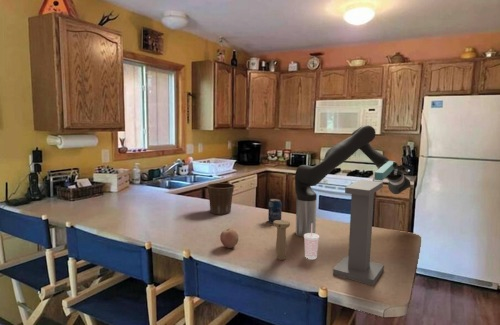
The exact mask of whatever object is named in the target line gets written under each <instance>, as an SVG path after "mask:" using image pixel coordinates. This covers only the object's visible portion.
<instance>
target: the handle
mask: <svg viewBox="0 0 500 325" xmlns="http://www.w3.org/2000/svg"><path fill="white" fill-rule="evenodd" d="M272 224H273V226H274V227H276V230H277V231H276V242H275V252H276V260H278V261H285V259H286V253H287V228H289V227H290V226H291V222H290V221H289V220H285V219H284V220H282V219H281V220H275V221H274V222H273V223H272Z"/></svg>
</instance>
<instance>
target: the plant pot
mask: <svg viewBox="0 0 500 325" xmlns="http://www.w3.org/2000/svg"><path fill="white" fill-rule="evenodd" d="M206 188H207V192H208V198H209V199H208V200H209V211H210V213H211V214H213V215H218V216H219V215H221V216H222V215H226V214H231V211H232V204H233V193H234V189H235V184H232V183H226V182H213V183H208V184H207V185H206Z"/></svg>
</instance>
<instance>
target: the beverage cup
mask: <svg viewBox="0 0 500 325" xmlns="http://www.w3.org/2000/svg"><path fill="white" fill-rule="evenodd" d="M312 225H313V223H311V233H306V234H304V237H303V238H304V240H303V241H304V257H306V258H305V259H307V258H308V259H307V260H316V259H317V257H318V248H319V239H320V235H319V234H318V233H316V232H315V233H312Z"/></svg>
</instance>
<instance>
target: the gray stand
mask: <svg viewBox="0 0 500 325" xmlns="http://www.w3.org/2000/svg"><path fill="white" fill-rule="evenodd" d="M383 185H384V182H383V181H379V180H367V179H360V180H358V181H355V182H354V183H352V184H349V185H347V186H345V187H344V194H349V195H351V196H350V197H351V198H350V220H349V237H348V238H349V239H348V255H346V256H344V257H343V259H341V261H340V262H339V263H338V264H336V265H335V267H333V268H332V274H333V275H334V276H338V277H341V278H345V279H348V280H353V281H356V282H357V283H358V282H360V283H362V284H364V285H365V284H366V285H369V286H374V285H375V284H376V282H377V280H378V279H379V278H380V277H381V275H382V273H383V272H384V270H385V268H384V267H385V265H384V264H381V263H377V262H372V261H371V248H372V234H373V219H374V218H373V216H374V215H373V214H374V199H375V198H374V197H375V196H374V195H375V193H377V192H378V191H380V190H381V189H383V187H384V186H383Z"/></svg>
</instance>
